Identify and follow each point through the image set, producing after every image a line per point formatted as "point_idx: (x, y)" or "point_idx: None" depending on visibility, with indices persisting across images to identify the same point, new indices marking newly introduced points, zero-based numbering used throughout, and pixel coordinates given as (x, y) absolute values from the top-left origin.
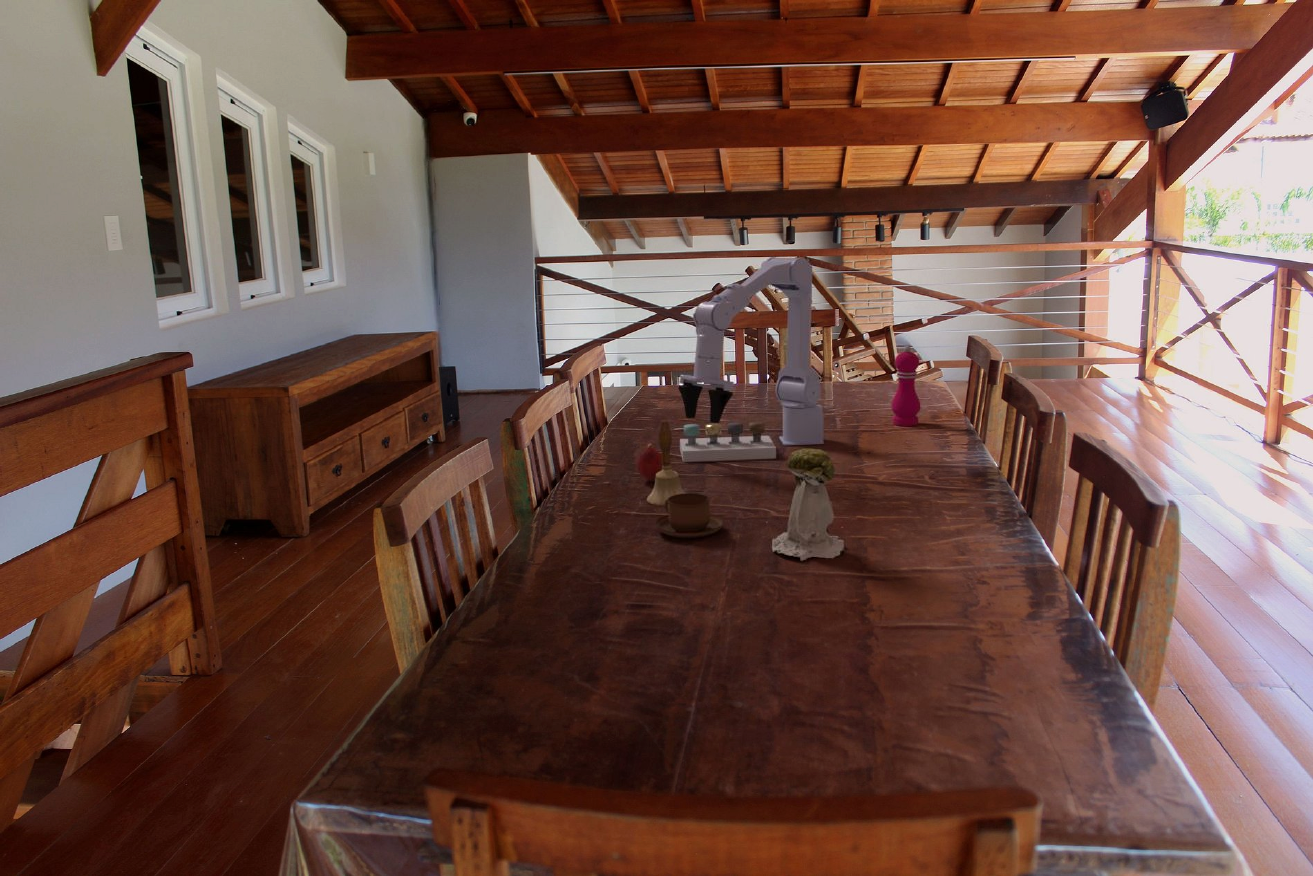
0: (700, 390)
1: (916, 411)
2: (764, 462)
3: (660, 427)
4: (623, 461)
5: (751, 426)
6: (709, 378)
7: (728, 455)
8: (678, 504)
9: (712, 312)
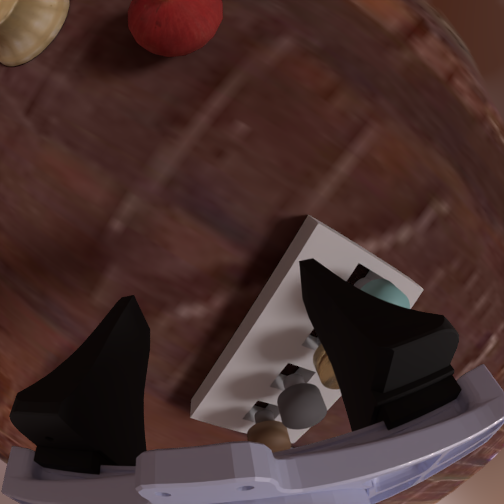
0: (353, 429)
1: None
2: (173, 369)
3: None
4: (412, 96)
5: (266, 435)
6: None
7: (242, 328)
8: None
9: None
